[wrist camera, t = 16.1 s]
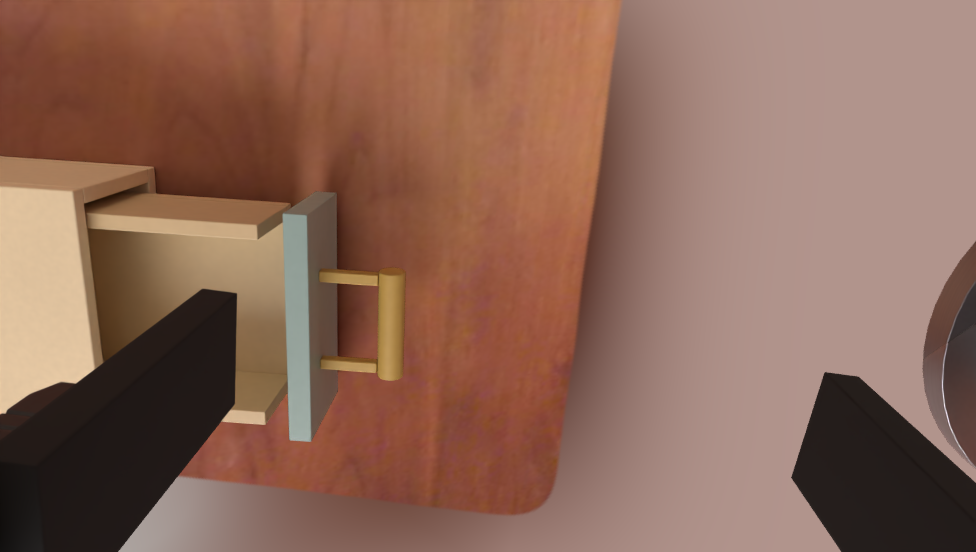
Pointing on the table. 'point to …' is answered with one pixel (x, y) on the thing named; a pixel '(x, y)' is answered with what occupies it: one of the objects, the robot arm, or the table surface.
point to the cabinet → (51, 269)
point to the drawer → (243, 291)
